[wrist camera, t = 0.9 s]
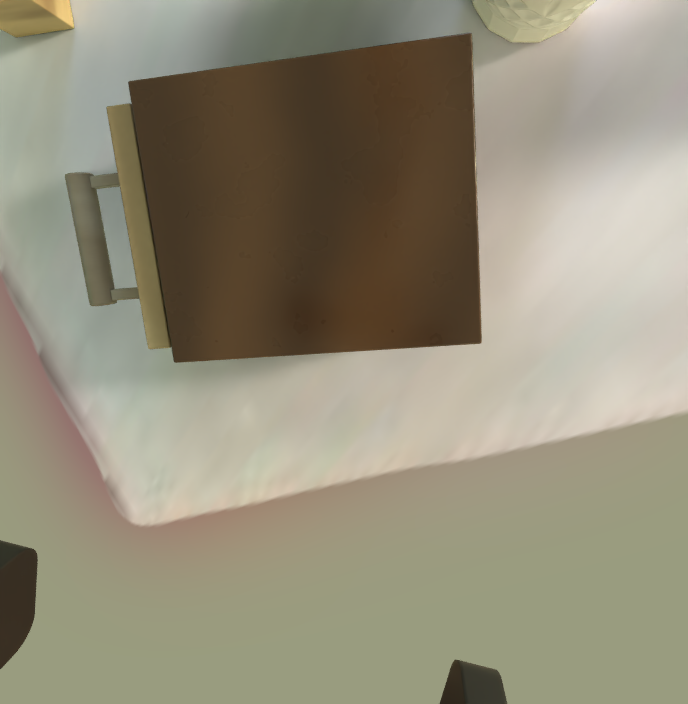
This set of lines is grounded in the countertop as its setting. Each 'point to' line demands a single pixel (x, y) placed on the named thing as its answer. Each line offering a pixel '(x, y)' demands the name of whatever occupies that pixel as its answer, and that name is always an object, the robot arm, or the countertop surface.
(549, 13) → the white cup
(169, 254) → the cabinet
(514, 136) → the countertop surface
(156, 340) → the drawer
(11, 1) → the block
